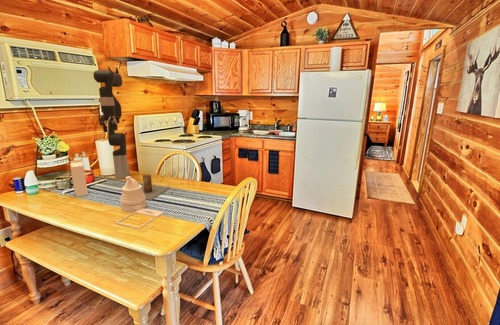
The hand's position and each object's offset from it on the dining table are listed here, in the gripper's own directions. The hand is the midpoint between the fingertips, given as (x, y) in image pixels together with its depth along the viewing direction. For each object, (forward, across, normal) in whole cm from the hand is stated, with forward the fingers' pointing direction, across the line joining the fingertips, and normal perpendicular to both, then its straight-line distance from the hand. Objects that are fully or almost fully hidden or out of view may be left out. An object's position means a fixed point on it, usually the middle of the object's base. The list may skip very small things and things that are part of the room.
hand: (110, 131), depth 161 cm
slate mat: (+38, +2, +24) cm, 45 cm away
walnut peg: (+38, +2, +24) cm, 45 cm away
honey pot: (+38, +23, +29) cm, 53 cm away
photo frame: (+39, +34, +41) cm, 66 cm away
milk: (+38, +15, -14) cm, 43 cm away
